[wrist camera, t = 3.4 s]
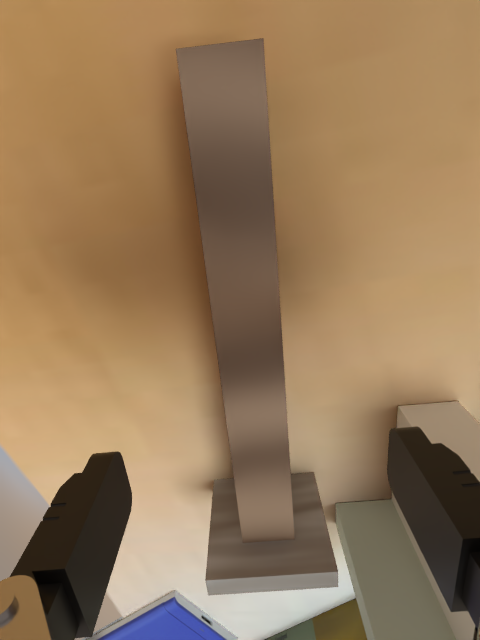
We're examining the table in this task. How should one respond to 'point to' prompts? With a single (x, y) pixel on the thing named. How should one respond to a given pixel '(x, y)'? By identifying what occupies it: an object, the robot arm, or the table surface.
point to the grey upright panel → (405, 544)
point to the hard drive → (165, 623)
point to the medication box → (329, 626)
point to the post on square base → (248, 332)
